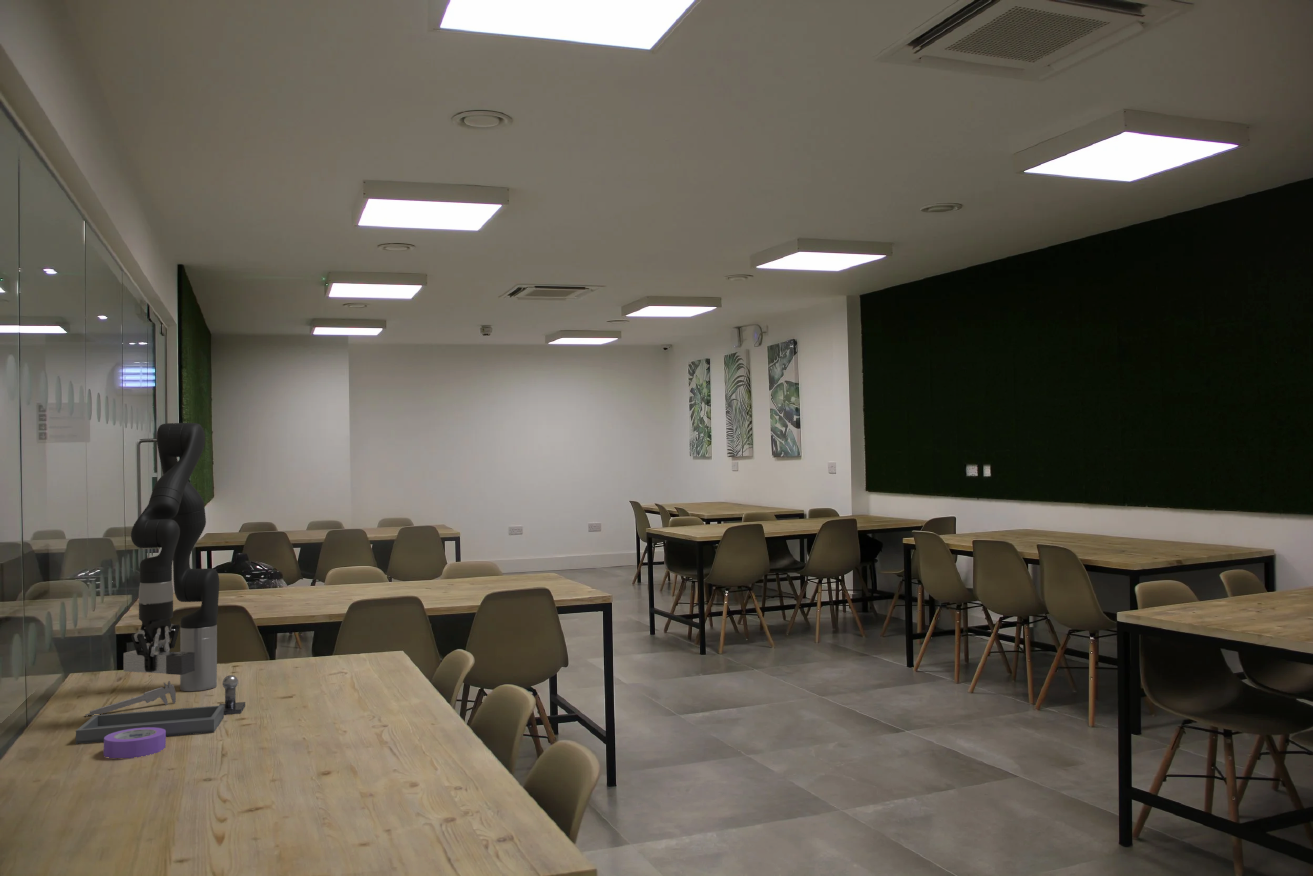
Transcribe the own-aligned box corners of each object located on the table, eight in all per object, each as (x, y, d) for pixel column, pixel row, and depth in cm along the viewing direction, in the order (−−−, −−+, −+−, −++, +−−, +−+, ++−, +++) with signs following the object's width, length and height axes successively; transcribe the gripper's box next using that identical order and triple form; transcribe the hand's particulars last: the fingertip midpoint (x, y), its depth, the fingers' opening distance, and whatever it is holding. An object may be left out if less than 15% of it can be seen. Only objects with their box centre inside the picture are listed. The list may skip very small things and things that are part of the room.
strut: (135, 667, 234) (135, 650, 234) (194, 670, 230) (194, 652, 230) (122, 671, 230) (122, 653, 230) (181, 674, 226) (181, 656, 226)
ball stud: (219, 707, 237) (220, 673, 238) (245, 705, 239) (245, 671, 239) (214, 715, 230) (214, 679, 230) (240, 713, 231) (241, 677, 232)
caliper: (174, 704, 244) (174, 679, 244) (175, 704, 243) (175, 680, 243) (84, 717, 231) (84, 691, 231) (84, 718, 230) (84, 692, 230)
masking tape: (149, 741, 209) (149, 724, 209) (176, 749, 202) (176, 731, 202) (93, 754, 199) (93, 736, 199) (119, 763, 192) (119, 744, 193)
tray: (94, 728, 220) (94, 715, 220) (223, 717, 228) (223, 705, 228) (75, 744, 206) (75, 730, 206) (213, 732, 214) (214, 719, 214)
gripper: (164, 595, 238) (164, 662, 238) (120, 604, 225) (121, 675, 224) (189, 596, 237) (189, 664, 236) (147, 604, 223) (147, 677, 223)
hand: (156, 669), depth 230 cm, fingers closed on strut, 3 cm apart
